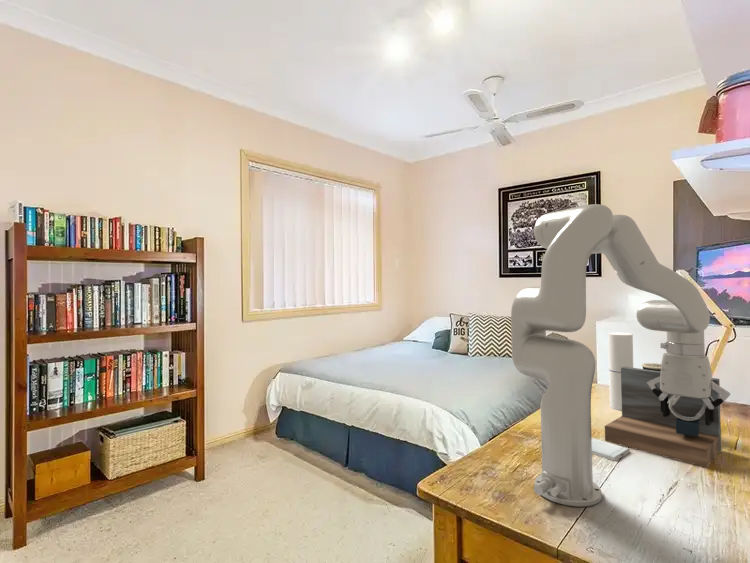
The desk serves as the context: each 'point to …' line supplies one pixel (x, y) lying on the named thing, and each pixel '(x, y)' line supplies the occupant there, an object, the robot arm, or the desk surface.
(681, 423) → the watch
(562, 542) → the desk surface
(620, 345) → the cylindrical container
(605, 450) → the hard drive
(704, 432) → the display stand
